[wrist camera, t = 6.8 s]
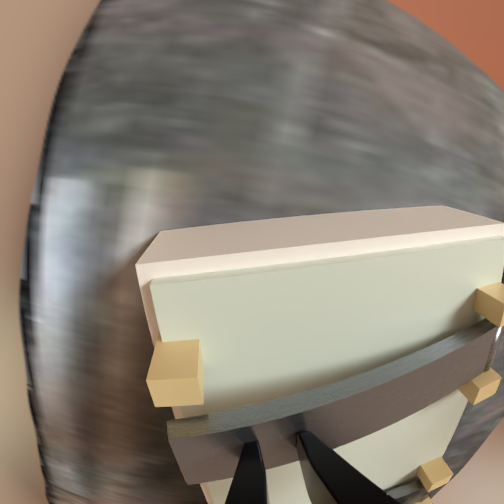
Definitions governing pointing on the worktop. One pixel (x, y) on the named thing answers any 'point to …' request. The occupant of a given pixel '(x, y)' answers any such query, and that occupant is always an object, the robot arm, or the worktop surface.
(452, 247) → the storage box
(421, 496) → the strap
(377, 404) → the strap
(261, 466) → the robot arm
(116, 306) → the worktop surface
